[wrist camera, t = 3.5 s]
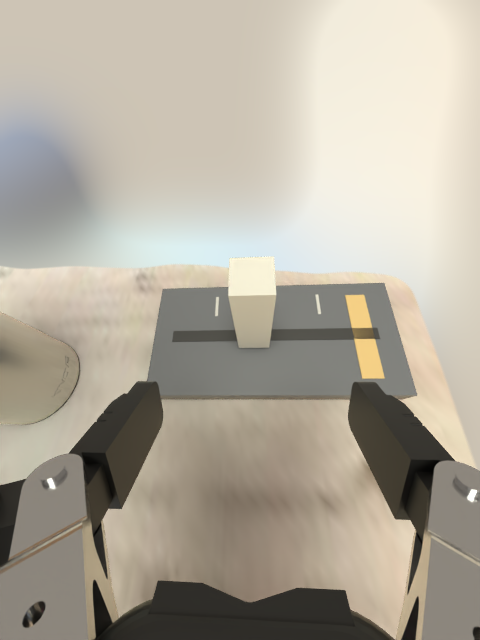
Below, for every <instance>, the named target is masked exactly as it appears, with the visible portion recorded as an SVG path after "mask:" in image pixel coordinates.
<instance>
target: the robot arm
mask: <svg viewBox="0 0 480 640" xmlns="http://www.w3.org/2000/svg"><path fill="white" fill-rule="evenodd" d="M78 375H79V361H78V357H77V355H76V353H75V351H74V350H73V349H72V348H71V347H70V346H69V345H67V344H65V343H63V342H61V341H59V340H57V339H55V338H53V337H51V336H49V335H46V334H44V333H42V332H41V331H39V330H37V329H35V328H33V327H31V326H28V325H26V324H24V323H22V322H20V321H18V320H16V319H14V318H12V317H10V316H8V315H6V314H4V313H2V312H0V424H13V425H27V424H32V423H36V422H38V421H41V420H43V419H45V418H47V417H48V416H50V415H51V414H53V413H54V412H55V411H56V410H58V409H59V408H60V407H61V406H62V405H63V404H64V403H65V401H66V400H67V399H68V398H69V396H70V395H71V393H72V391H73V390H74V387H75V385H76V382H77V380H78ZM348 420H349V425H350V428H351V431H352V433H353V435H354V437H355V439H356V441H357V443H358V445H359V447H360V449H361V451H362V453H363V455H364V457H365V459H366V461H367V463H368V465H369V467H370V469H371V471H372V473H373V475H374V477H375V479H376V481H377V483H378V485H379V487H380V489H381V491H382V493H383V495H384V497H385V499H386V501H387V503H388V505H389V507H390V509H391V512H392V514H393V516H394V518H395V519H402V520H411V522H412V524H413V525H414V527H415V529H416V530H415V533H414V537H413V543H412V550H411V556H410V563H409V569H408V576H407V582H406V589H405V595H404V602H403V607H402V612H401V616H400V620H399V625H398V629H397V634H396V640H480V471H479V470H477V469H475V468H473V467H471V466H469V465H466V464H463V463H460V462H456V461H455V460H454V459H453V458H452V457H451V456H450V454H449V453H448V452H447V451H446V450H445V449H444V448H443V447H442V445H441V444H440V443H439V442H438V441H437V440H436V439H435V438H434V436H433V435H432V434H431V433H430V432H429V431H428V430H427V429H426V427H425V426H422V423H421V422H420V421H419V420H418V418H417V417H414V414H413V413H412V412H411V410H410V409H409V408H408V407H407V406H406V405H405V404H404V403H403V402H401V401H400V400H398V399H396V398H395V397H393V396H392V395H386V394H385V393H384V391H383V390H382V389H381V388H380V387H379V385H378V384H377V383H376V382H354V383H353V385H352V390H351V397H350V404H349V412H348ZM162 421H163V408H162V403H161V397H160V391H159V386H158V383H157V382H156V381H138V382H136V384H135V385H134V386H133V387H132V389H131V390H130V391H129V392H128V394H123V395H121V396H120V397H118V398H117V399H115V400H114V401H113V402H112V403H111V404H110V405H109V406H108V407H107V408H106V410H105V411H104V414H101V416H100V417H99V418H98V419H97V422H95V423H94V424H93V425H92V426H91V427H90V429H89V430H88V431H87V432H86V433H85V435H84V436H83V437H82V438H81V439H80V440H79V442H78V443H77V444H76V445H75V446H74V448H73V449H72V450H71V451H70V452H69V454H64V455H60V456H57V457H55V458H52V459H50V460H48V461H47V462H45V463H43V464H42V465H40V466H39V467H38V468H36V469H35V470H34V471H33V472H32V473H31V474H30V475H29V476H28V477H27V479H24V480H20V481H16V482H12V483H8V484H4V485H0V640H395V639H393V638H392V637H391V636H390V635H389V634H388V633H387V632H385V631H384V630H383V629H382V628H380V627H379V626H378V625H376V624H375V623H373V622H372V621H371V620H369V619H367V618H365V617H364V616H362V615H360V614H359V613H357V612H354V611H352V610H350V607H349V603H348V599H347V595H346V591H345V590H329V589H310V588H296V589H293V590H289V591H286V592H283V593H280V594H277V595H274V596H271V597H268V598H265V599H262V600H259V601H256V602H251V603H249V602H244V601H242V600H240V599H237V598H235V597H233V596H231V595H228V594H226V593H224V592H222V591H219V590H217V589H215V588H213V587H210V586H208V585H206V584H204V583H193V582H173V581H158V583H157V586H156V590H155V593H154V597H153V599H152V600H149V601H146V602H144V603H142V604H140V605H138V606H136V607H134V608H133V609H131V610H130V611H128V612H127V613H125V614H123V615H122V616H121V617H120V618H119V617H118V612H117V607H116V603H115V599H114V594H113V589H112V583H111V576H110V568H109V560H108V553H107V545H106V538H105V530H104V524H103V520H102V519H103V517H104V515H105V513H106V512H107V510H108V508H109V509H122V507H123V505H124V503H125V501H126V499H127V497H128V495H129V493H130V490H131V488H132V486H133V484H134V482H135V480H136V478H137V476H138V474H139V472H140V470H141V468H142V465H143V463H144V461H145V459H146V457H147V455H148V453H149V451H150V449H151V447H152V445H153V443H154V440H155V438H156V436H157V434H158V432H159V430H160V428H161V425H162Z"/></svg>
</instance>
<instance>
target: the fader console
mask: <svg viewBox="0 0 480 640" xmlns="http://www.w3.org/2000/svg"><path fill="white" fill-rule="evenodd" d="M228 288H229V287H216V288H179V289H163V291H162V297H161V303H160V309H159V315H158V320H157V326H156V332H155V338H154V344H153V349H152V355H151V361H150V367H149V373H148V379H147V381H156V382H157V383H158V386H159V391H160V397H161V399H350V397H351V390H352V385H353V383H354V382H376V383H377V384H378V385H379V387H380V388H381V389H382V390H383V391H384V393H385V394H386V395H392V396H393V397H395V398H396V399H405V398H409V397H413V396H417V393H416V389H415V386H414V382H413V379H412V376H411V372H410V369H409V365H408V362H407V359H406V355H405V352H404V348H403V345H402V342H401V338H400V335H399V331H398V328H397V325H396V321H395V318H394V314H393V311H392V308H391V304H390V301H389V297H388V294H387V291H386V287H385V284H384V283H364V284H327V285H290V286H276V301H275V308H274V316H273V323H272V330H271V337H270V345H269V348H239V346H238V341H237V337H236V332H235V327H234V322H233V317H232V312H231V307H230V302H229V297H228Z"/></svg>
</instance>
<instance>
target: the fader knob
mask: <svg viewBox="0 0 480 640" xmlns="http://www.w3.org/2000/svg"><path fill="white" fill-rule="evenodd" d="M228 297H229V302H230V307H231V312H232V317H233V322H234V327H235V332H236V337H237V341H238V346H239V348H269V345H270V337H271V330H272V323H273V316H274V308H275V301H276V280H275V266H274V257H250V258H249V257H248V258H230V261H229V288H228Z"/></svg>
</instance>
